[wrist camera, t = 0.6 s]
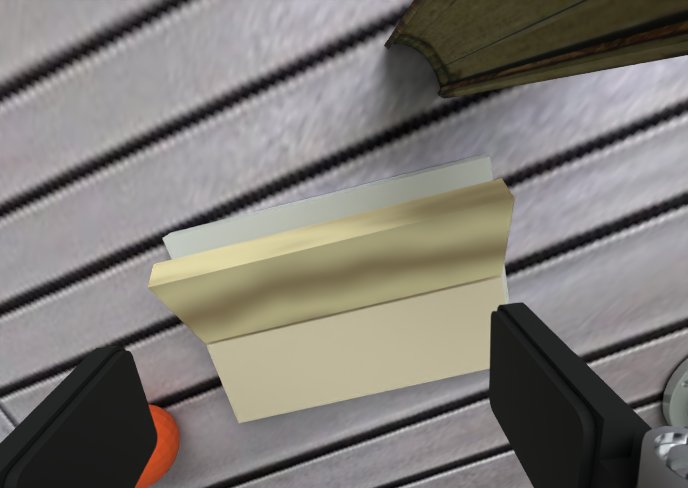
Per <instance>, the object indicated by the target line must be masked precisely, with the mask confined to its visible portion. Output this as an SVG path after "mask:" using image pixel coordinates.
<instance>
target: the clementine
mask: <svg viewBox="0 0 688 488" xmlns="http://www.w3.org/2000/svg"><path fill="white" fill-rule="evenodd" d="M149 408H150V411H151V415H152V418H153V421H154V424H155V427H156V430H157V434H158V440H157V445H156V448H155V450H154V452H153V454H152V456H151V458H150V460H149V462H148V463H147V465H146V467H145V469H144V471H143V473H142V475H141V477H140V479H139V481H138V483H137V485H136V486H135V488H147V487H149V486H151V485H152V484H154V483H156V482H157V481H158V480H159V479H160V478H161V477H163V475H164V474H165V473H166V472H167V471H168V470H169V468H170V467H171V465H172V464H173V462H174V460H175V458H176V455H177V452H178V449H179V430H178V426H177V424H176V422H175V421H174V419H173V417H172V416H171V415H170V414H169V413H168V412H167V411H166V410H164V409H162V408H160V407H158V406H155V405H149Z"/></svg>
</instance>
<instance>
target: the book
mask: <svg viewBox="0 0 688 488" xmlns="http://www.w3.org/2000/svg"><path fill="white" fill-rule="evenodd" d="M392 44H403V45H407V46H410V47H413V48H414V49H416V50H418V51H419V52H420V53H421V54H423V55H424V56H425V58H426V59H427V60H428V61H429V63H430V64H431V66H432V67H433V69H434V71H435V73H436V76H437V78H438V81H439V84H440V89H439V91H438V93H437V94H438V95H439V96H440V97H441V98H443V99H445V98H451V97H457V96H463V95H468V94H474V93H479V92H485V91H490V90H496V89H501V88H507V87H513V86H518V85H524V84H529V83H535V82H540V81H546V80H551V79H557V78H563V77H568V76H574V75H579V74H585V73H590V72H596V71H601V70H607V69H613V68H618V67H624V66H629V65H635V64H640V63H646V62H651V61H657V60H663V59H668V58H674V57H679V56H685V55H688V0H414V1H413V3H412V4H411V6H410V7H409V9H408V10H407V12H406V13H405V15H404V16H403V18H402V19H401V21H400V22H399V24H398V25H397V27H396V28H395V30H394V31H393V33H392V34H391V36H390V37H389V39H388V40H387V42H386V43H385V45H384V46H385V47H386V48H387V49H389V48H390V47H391V45H392Z"/></svg>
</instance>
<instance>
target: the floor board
mask: <svg viewBox="0 0 688 488" xmlns="http://www.w3.org/2000/svg"><path fill="white" fill-rule="evenodd" d="M492 180H493V174H492V166H491V158H490V156H488V155H484V154H482V155H478V156H474V157H470V158H466V159H462V160H458V161H454V162H450V163H446V164H442V165H438V166H434V167H431V168H427V169H423V170H419V171H415V172H411V173H407V174H403V175H399V176H395V177H391V178H387V179H383V180H379V181H375V182H371V183H367V184H363V185H359V186H355V187H351V188H347V189H343V190H339V191H335V192H331V193H327V194H323V195H319V196H315V197H311V198H307V199H303V200H299V201H295V202H291V203H287V204H283V205H279V206H276V207H272V208H268V209H264V210H260V211H256V212H252V213H248V214H244V215H240V216H236V217H232V218H228V219H224V220H220V221H216V222H212V223H208V224H204V225H200V226H196V227H192V228H188V229H184V230H180V231H176V232H172V233H170V234H168V235H167V236H165V237H164V238H163V240H164V243H165V245H166V248H167V250H168V253H169V255H170V257H171V260H173V259H177V258H181V257H185V256H189V255H193V254H197V253H201V252H205V251H209V250H213V249H217V248H221V247H225V246H229V245H233V244H237V243H241V242H245V241H250V240H254V239H258V238H262V237H266V236H270V235H274V234H278V233H282V232H286V231H290V230H294V229H298V228H302V227H306V226H310V225H314V224H318V223H322V222H326V221H330V220H334V219H339V218H343V217H347V216H351V215H355V214H359V213H363V212H367V211H371V210H375V209H379V208H383V207H387V206H391V205H395V204H399V203H403V202H407V201H411V200H415V199H419V198H423V197H428V196H432V195H436V194H440V193H444V192H448V191H452V190H456V189H460V188H464V187H468V186H472V185H476V184H480V183H484V182H488V181H492ZM503 304H509V296H508V289H507V281H506V273H505V266H503V272H502V275H497V276H493V277H489V278H484V279H480V280H476V281H472V282H467V283H463V284H459V285H454V286H450V287H446V288H441V289H437V290H433V291H428V292H424V293H420V294H416V295H411V296H407V297H403V298H398V299H394V300H390V301H385V302H381V303H377V304H373V305H368V306H364V307H360V308H355V309H351V310H347V311H342V312H338V313H334V314H329V315H325V316H321V317H317V318H312V319H308V320H304V321H299V322H295V323H291V324H286V325H282V326H278V327H274V328H269V329H265V330H261V331H256V332H252V333H248V334H243V335H239V336H235V337H230V338H226V339H222V340H218V341H213V342H209V343H206V344H207V348H208V351H209V353H210V355H211V358H212V360H213V363H214V365H215V367H216V370H217V372H218V375H219V377H220V380H221V382H222V384H223V387H224V389H225V392H226V394H227V396H228V399H229V401H230V404H231V406H232V408H233V411H234V413H235V416H236V418H237V420H238V423H243V422H247V421H252V420H256V419H261V418H266V417H270V416H275V415H279V414H284V413H288V412H293V411H298V410H302V409H307V408H311V407H316V406H321V405H325V404H330V403H334V402H339V401H343V400H348V399H353V398H357V397H362V396H366V395H371V394H376V393H380V392H385V391H389V390H394V389H398V388H403V387H408V386H412V385H417V384H421V383H426V382H430V381H435V380H440V379H444V378H449V377H453V376H458V375H463V374H467V373H472V372H476V371H481V370H485V369H490V326H491V313H492V312H493V311H497V308H498V306H499V305H503Z"/></svg>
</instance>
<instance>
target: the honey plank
mask: <svg viewBox="0 0 688 488" xmlns="http://www.w3.org/2000/svg"><path fill="white" fill-rule="evenodd" d="M514 199H515V198H514V197H513V195H512V194H511V192H510V191H509V189H508V188H507V186H506V185H505V183H504V181H503V180H502V178H500V179H496V180H492V181H488V182H484V183H480V184H476V185H472V186H468V187H464V188H460V189H456V190H452V191H448V192H444V193H440V194H436V195H432V196H428V197H423V198H419V199H415V200H411V201H407V202H403V203H399V204H395V205H391V206H387V207H383V208H379V209H375V210H371V211H367V212H363V213H359V214H355V215H351V216H347V217H343V218H339V219H334V220H330V221H326V222H322V223H318V224H314V225H310V226H306V227H302V228H298V229H294V230H290V231H286V232H282V233H278V234H274V235H270V236H266V237H262V238H258V239H254V240H250V241H245V242H241V243H237V244H233V245H229V246H225V247H221V248H217V249H213V250H209V251H205V252H201V253H197V254H193V255H189V256H185V257H181V258H177V259H173V260H169V261H165V262H161V263H156V264H154V265H153V269H152V273H151V277H150V281H149V285H148V288H149V289H150V290H151V291H152V292H153V293H154V294H155V295H156V296H157V297H158V298H159V299H160V300H161V301H162V302H163V303H164V304H165V305H166V306H167V307H168V308H169V309H170V310H171V311H172V312H173V313H174V314H175V315H176V316H177V317H178V318H179V319H180V320H181V321H182V322H184V323H185V324H186V325H187V326H188V327H189V328H190V329H191V330H192V331H193V332H194V333H195V334H196V335H197V336H198V337H199V338H200V339H201V340H202V341H203V342H204V343H209V342H213V341H218V340H222V339H226V338H230V337H235V336H239V335H243V334H248V333H252V332H256V331H261V330H265V329H269V328H274V327H278V326H282V325H286V324H291V323H295V322H299V321H304V320H308V319H312V318H317V317H321V316H325V315H329V314H334V313H338V312H342V311H347V310H351V309H355V308H360V307H364V306H368V305H373V304H377V303H381V302H385V301H390V300H394V299H398V298H403V297H407V296H411V295H416V294H420V293H424V292H428V291H433V290H437V289H441V288H446V287H450V286H454V285H459V284H463V283H467V282H472V281H476V280H480V279H484V278H489V277H493V276H497V275H502V272H503V266H504V260H505V254H506V247H507V241H508V235H509V229H510V223H511V217H512V211H513V205H514Z"/></svg>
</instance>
